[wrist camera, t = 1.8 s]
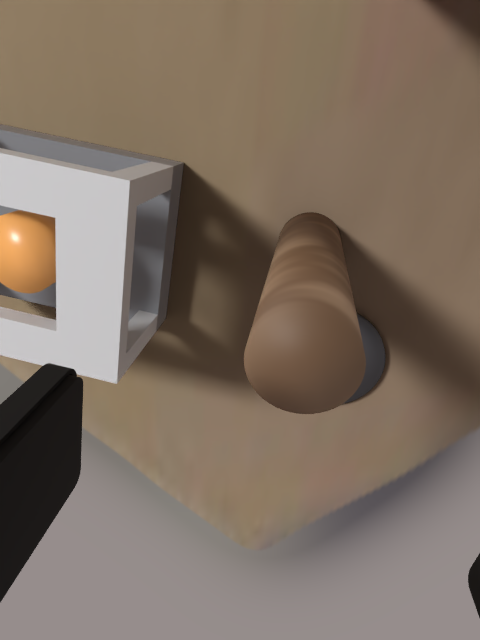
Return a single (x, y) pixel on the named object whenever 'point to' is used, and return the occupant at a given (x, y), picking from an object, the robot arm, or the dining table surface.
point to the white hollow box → (91, 249)
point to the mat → (370, 357)
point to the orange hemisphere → (27, 251)
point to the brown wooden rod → (306, 323)
